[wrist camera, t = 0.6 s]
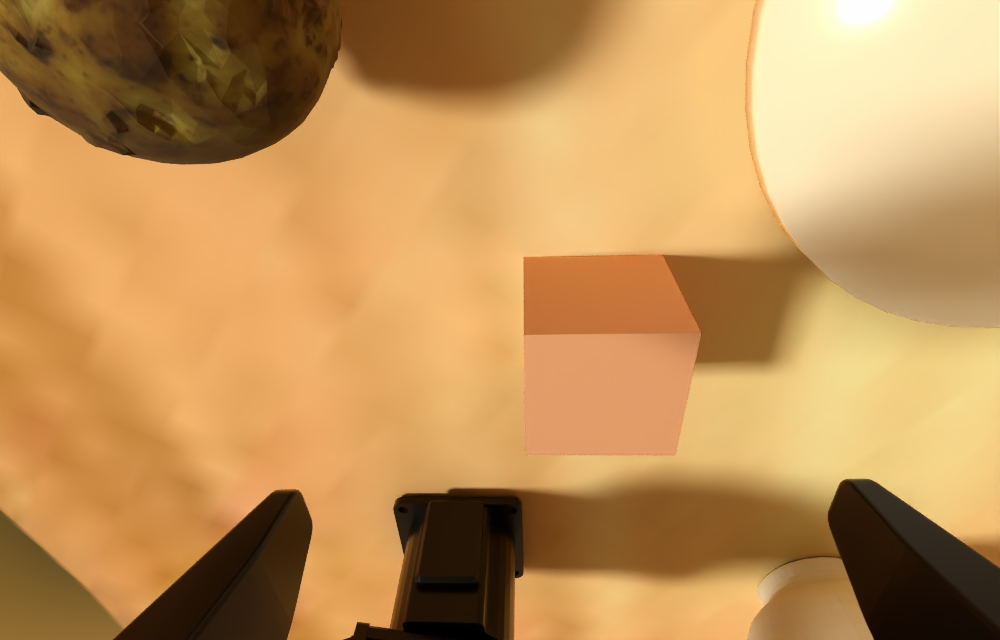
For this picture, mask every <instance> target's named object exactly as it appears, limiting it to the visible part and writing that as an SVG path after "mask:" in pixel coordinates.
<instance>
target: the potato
mask: <svg viewBox="0 0 1000 640" xmlns="http://www.w3.org/2000/svg"><path fill="white" fill-rule="evenodd" d="M341 29H342V20H341V12H340V0H0V71H1V72H2V73H3V74H4V75H5V76H6V77H7V78H8V79H9V80H10V81H11V82H12V83H13V84H14V85H15V86H16V87H17V88H18V90H19V92H20V94H21V96H22V97H23V99H24V101H25V102H26V103H27V104H28V106H29V107H30V108H31V109H32V110H34V111H35V112H36V113H37V114H39V115H46V116H50V117H52V118H53V119H55V120H56V121H58V122H60V123H61V124H63V125H65V126H66V127H68V128H69V129H71V130H73V131H74V132H76V133H78V134H79V135H81V136H82V137H83V138H84V139H85V140H86V141H87V142H88V143H90V144H92V145H93V146H95V147H99V148H104V149H107V150H110V151H113V152H116V153H119V154H122V155H128V156H131V157H136V158H141V159H146V160H151V161H156V162H161V163H170V164H212V163H220V162H225V161H229V160H234V159H239V158H243V157H245V156H247V155H250V154H252V153H255V152H257V151H259V150H262V149H264V148H266V147H269V146H271V145H273V144H275V143H277V142H278V141H280V140H281V139H283V138H284V137H286V136H287V135H289V134H290V133H291V132H292V131H293V130H295V129H296V128H297V127H298V126H299V125H300V124H302V123H303V122H304V120H305V119H306V117H307V116H308V115H309V113H310V112H311V110H312V109H313V107H314V106H315V104H316V103H317V102H318V100H319V98H320V96H321V94H322V92H323V89H324V87H325V84H326V82H327V79H328V77H329V74H330V71H331V69H332V68H333V67H334V63H335V61H336V60H337V58H338V51H339V49H340V45H341Z"/></svg>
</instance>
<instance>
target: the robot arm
mask: <svg viewBox="0 0 1000 640" xmlns="http://www.w3.org/2000/svg"><path fill="white" fill-rule="evenodd" d="M394 514H395V519H396V523H397V527H398V531H399V536H400V540H401V544H402V548H403V553H404V560H403V565H402V570H401V575H400V579H399V584H398V589H397V594H396V599H395V604H394V609H393V614H392V619H391V624H390V629H389V628H382V627H374V626H370V623H362V622H357V625H356V629H355V632H354V636H351V637H350V638H347V639H344V640H514V599H515V578H519V577H521V576H522V575H523V528H522V503H521V501H520V500H519V499H517V498H493V497H400V498H398V499H396V501H395V504H394ZM828 523H829V527H830V530H831V533H832V535H833V538H834V541H835V543H836V546H837V549H838V551H839V554H840V557H841V559H842V562H843V565H844V567H845V570H846V573H847V575H848V578H849V581H850V583H851V586H852V589H853V591H854V594H855V597H856V599H857V602H858V605H859V607H860V610H861V612H862V615H863V617H864V620H865V622H866V624H867V626H868V628H869V631H870V633H871V635H872V637H873V639H874V640H1000V568H999V567H998V566H996V565H995V564H993V563H992V562H991V561H989V560H988V559H986V558H985V557H983V556H982V555H980V554H979V553H978V552H976V551H975V550H973V549H972V548H970V547H969V546H967V545H966V544H965V543H963V542H962V541H960V540H959V539H957V538H956V537H954V536H953V535H952V534H950V533H949V532H947V531H946V530H944V529H943V528H941V527H940V526H939V525H937V524H936V523H934V522H933V521H931V520H930V519H928V518H927V517H926V516H924V515H923V514H921V513H920V512H918V511H917V510H915V509H914V508H913V507H911V506H910V505H908V504H907V503H905V502H904V501H902V500H901V499H900V498H898V497H897V496H895V495H894V494H892V493H891V492H889V491H888V490H887V489H885V488H884V487H882V486H881V485H879V484H878V483H876V482H874V481H872V480H869V479H845V480H843V481H842V482H841V483H840V484H839V486H838V488H837V491H836V493H835V496H834V498H833V501H832V503H831V506H830V508H829V511H828ZM311 535H312V519H311V516H310V514H309V511H308V508H307V506H306V503H305V501H304V498H303V495H302V493H301V492H300V491H299V490H296V489H289V490H276V491H274V492H272V493H271V494H270V495H269V496H267V497H266V498H265V499H264V500H263V501H262V502H261V503H260V504H259V505H258V506H257V507H256V508H254V509H253V510H252V511H251V512H250V513H249V514H248V515H247V516H246V517H245V518H244V519H243V520H242V521H240V522H239V523H238V524H237V525H236V526H235V527H234V528H233V529H232V530H231V531H230V532H229V533H227V534H226V535H225V536H224V537H223V538H222V539H221V540H220V541H219V542H218V543H217V544H216V545H214V546H213V547H212V548H211V549H210V550H209V551H208V552H207V553H206V554H205V555H204V556H203V557H202V558H200V559H199V560H198V561H197V562H196V563H195V564H194V565H193V566H192V567H191V568H190V569H189V570H187V571H186V572H185V573H184V574H183V575H182V576H181V577H180V578H179V579H178V580H177V581H176V582H174V583H173V584H172V585H171V586H170V587H169V588H168V589H167V590H166V591H165V592H164V593H163V594H162V595H160V596H159V597H158V598H157V599H156V600H155V601H154V602H153V603H152V604H151V605H150V606H149V607H147V608H146V609H145V610H144V611H143V612H142V613H141V614H140V615H139V616H138V617H137V618H136V619H134V620H133V621H132V622H131V623H130V624H129V625H128V626H127V627H126V628H125V629H124V630H123V631H122V632H120V633H119V634H118V635H117V636H116V637H115V638H114V639H113V640H287V637H288V633H289V630H290V627H291V624H292V620H293V616H294V611H295V607H296V603H297V598H298V594H299V589H300V585H301V580H302V576H303V571H304V567H305V562H306V558H307V553H308V549H309V544H310V540H311Z"/></svg>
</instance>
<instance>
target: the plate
mask: <svg viewBox="0 0 1000 640" xmlns="http://www.w3.org/2000/svg"><path fill="white" fill-rule="evenodd" d="M745 112H746V120H747V128H748V137H749V145H750V152H751V155H752V159H753V162H754V166H755V170H756V173H757V177H758V180H759V184H760V187H761V189H762V191H763V193H764V195H765V198H766V200H767V202H768V204H769V206H770V208H771V210H772V213H773V215H774V217H775V218H776V219H777V221H778V222H779V224H780V225H781V227H782V228H783V229H784V231H785V232H786V234H787V235H788V237H789V238H790V240H791V241H792V242H793V243H794V244H795V245H796V246H797V247H798V248H799V249H800V250H801V251H802V252H803V253H804V254H805V255H806V256H807V257H808V258H809V259H810V260H811V261H812V262H813V263H814V264H815V265H816V266H817V267H818V268H819V269H820V270H821V271H822V272H823V273H824V274H825V275H826V276H827V277H828V278H829V279H830V280H831V281H833V282H834V283H836V284H837V285H839V286H840V287H841V288H843V289H844V290H846V291H847V292H849V293H850V294H851V295H853V296H854V297H856V298H858V299H860V300H862V301H864V302H866V303H868V304H870V305H873V306H875V307H877V308H879V309H881V310H883V311H885V312H889V313H892V314H895V315H899V316H902V317H905V318H909V319H912V320H915V321H920V322H926V323H933V324H939V325H945V326H951V327H975V328H998V327H1000V0H756V4H755V7H754V11H753V18H752V25H751V32H750V39H749V46H748V53H747V60H746V95H745Z"/></svg>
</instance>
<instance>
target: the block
mask: <svg viewBox="0 0 1000 640" xmlns="http://www.w3.org/2000/svg"><path fill="white" fill-rule="evenodd" d="M700 337H701V331H700V329H699V327H698V325H697V323H696V321H695V319H694V317H693V315H692V313H691V311H690V309H689V307H688V305H687V303H686V301H685V299H684V297H683V295H682V293H681V291H680V289H679V287H678V285H677V283H676V281H675V279H674V277H673V275H672V273H671V271H670V269H669V267H668V265H667V263H666V261H665V259H664V257H663V255H618V256H563V257H524V372H525V438H526V455H675V454H676V450H677V445H678V440H679V436H680V431H681V426H682V422H683V417H684V412H685V408H686V403H687V398H688V394H689V389H690V384H691V380H692V375H693V370H694V366H695V361H696V356H697V351H698V347H699V342H700Z"/></svg>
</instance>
